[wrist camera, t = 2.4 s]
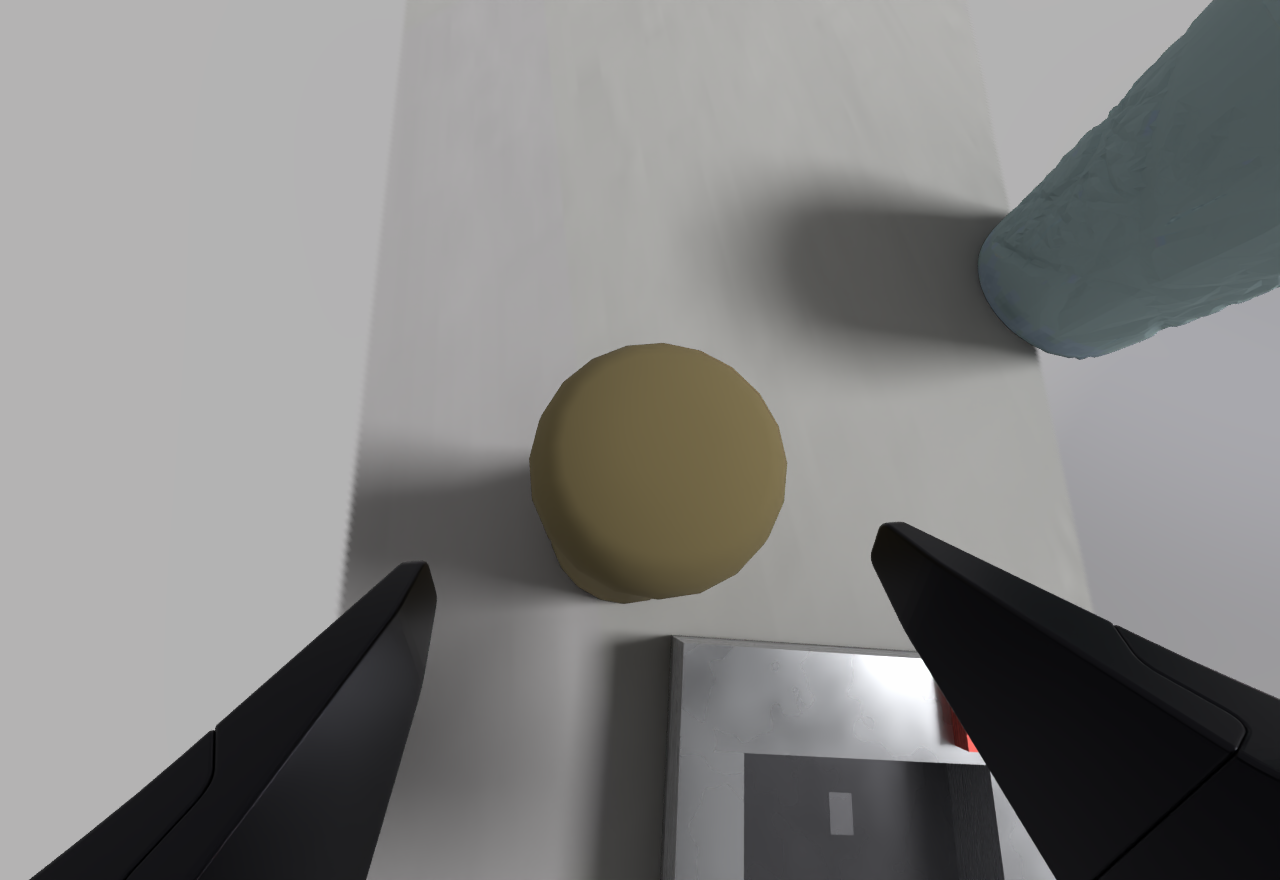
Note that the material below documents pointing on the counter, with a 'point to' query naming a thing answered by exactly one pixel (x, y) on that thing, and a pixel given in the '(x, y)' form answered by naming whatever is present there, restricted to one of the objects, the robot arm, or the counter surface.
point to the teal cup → (1154, 199)
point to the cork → (656, 473)
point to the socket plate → (826, 771)
